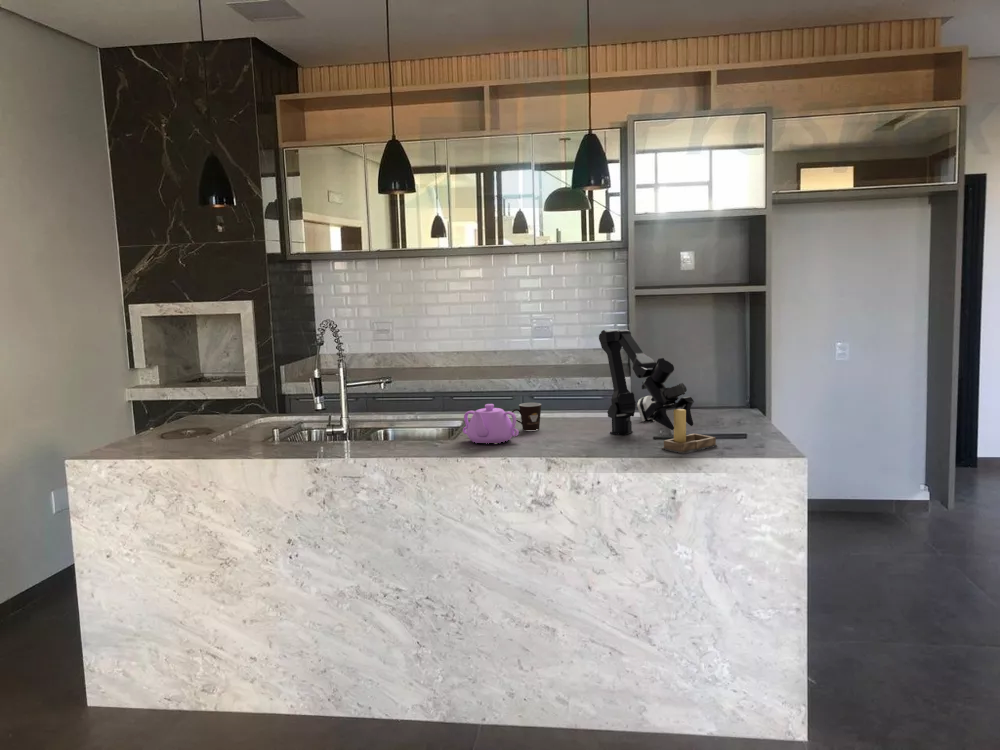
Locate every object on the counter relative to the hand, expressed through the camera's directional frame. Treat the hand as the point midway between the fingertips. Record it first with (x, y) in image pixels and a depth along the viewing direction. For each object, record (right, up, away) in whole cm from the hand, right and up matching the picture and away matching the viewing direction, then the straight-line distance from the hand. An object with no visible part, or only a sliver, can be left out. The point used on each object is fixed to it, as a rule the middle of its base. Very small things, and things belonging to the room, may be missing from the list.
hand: (682, 427), depth 260 cm
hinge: (0, 0, +59) cm, 59 cm away
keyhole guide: (+3, -7, +5) cm, 9 cm away
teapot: (-65, -7, +24) cm, 70 cm away
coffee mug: (-50, -4, +44) cm, 67 cm away
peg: (-1, -7, +2) cm, 7 cm away
